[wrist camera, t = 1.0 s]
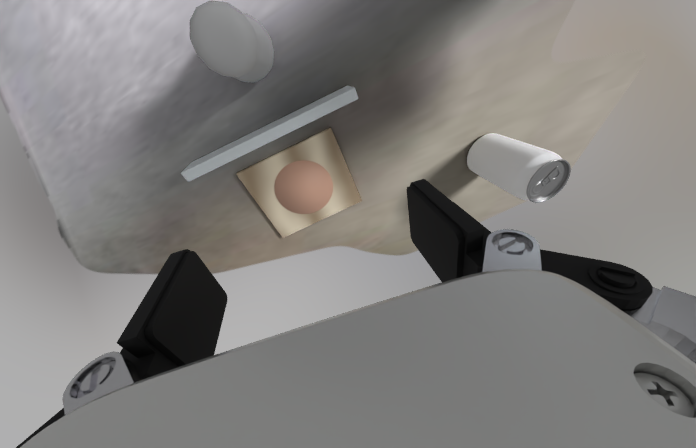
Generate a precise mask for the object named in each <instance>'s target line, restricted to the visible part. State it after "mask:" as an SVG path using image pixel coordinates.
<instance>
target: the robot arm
mask: <svg viewBox="0 0 696 448" xmlns="http://www.w3.org/2000/svg"><path fill="white" fill-rule="evenodd" d="M407 198H408V210H409V222H410V233H411V239H412V241H413V243H414V244H415V246H416V247H417V248H418V250H419V251H420V253H421V254H422V255H423V257H424V258H425V259H426V261H427V262H428V264H429V265H430V266H431V268H432V269H433V271H434V272H435V273H436V275H437V276H438V277H439V278H440V280H441V281H442V283H439V284H435V285H432V286H429V287H426V288H422V289H419V290H416V291H412V292H409V293H406V294H403V295H400V296H396V297H393V298H390V299H387V300H384V301H381V302H377V303H374V304H371V305H368V306H365V307H362V308H359V309H355V310H352V311H349V312H346V313H343V314H340V315H337V316H333V317H331V318H327V319H324V320H321V321H318V322H315V323H312V324H309V325H306V326H302V327H299V328H296V329H293V330H290V331H287V332H284V333H281V334H278V335H275V336H272V337H269V338H265V339H262V340H259V341H256V342H253V343H250V344H247V345H244V346H241V347H238V348H235V349H232V350H229V351H226V352H223V353H220V354H217V355H214V352H215V348H216V344H217V340H218V336H219V332H220V328H221V324H222V320H223V315H224V312H225V307H226V304H227V295H226V293H225V291H224V290H223V288H222V287H221V286H220V284H219V283H218V282H217V281H216V279H215V278H214V276H213V275H212V274H211V272H210V271H209V270H208V268H207V267H206V266H205V264H204V263H203V262H202V260H201V259H200V258H199V256H198V255H197V254H196V253H195V252H194V251H190V250H188V249H186V250H182V251H179V252H175V253H172V254H171V255H170V256H169V258H168V259H167V261H166V263H165V264H164V266H163V268H162V269H161V271H160V273H159V274H158V276H157V278H156V279H155V281H154V282H153V284H152V286H151V287H150V289H149V291H148V292H147V294H146V296H145V297H144V299H143V301H142V302H141V304H140V306H139V307H138V309H137V311H136V312H135V314H134V315H133V317H132V319H131V320H130V322H129V324H128V325H127V327H126V328H125V330H124V332H123V333H122V335H121V337H120V338H119V340H118V342H117V343H118V344H119V345H120V346H122V347H123V349H122V350H121V352H120V353H119V352H110V353H106V354H104V355H102V356H100V357H98V358H96V359H95V360H93V361H92V362H90V363H89V364H88V365H86V366H85V367H84V368H83V369H82V370H81V371H80V372H79V373H78V374H77V375H76V376H75V377H74V378H73V379H72V381H71V382H70V383H69V385H68V386H67V388H66V390H65V392H64V394H63V405H64V408H63V409H62V410H60V411H59V412H58V413H57V414H56V415H55V416H53V417H52V418H51V419H50V420H49V421H47V422H46V423H45V424H44V425H43V426H41V427H40V428H39V429H38V430H37V431H35V432H34V433H33V434H32V435H30V436H29V437H28V438H27V439H26V440H25V441H24V442H22V443H21V444H20V445H18V446H17V447H16V448H696V297H695V296H692V295H689V294H686V293H683V292H680V291H677V290H674V289H671V288H668V287H665V286H663V288H662V289H661V290H659V289H657V288H654V287H652V285H651V284H650V282H649V281H648V280H647V279H646V278H645V277H644V276H643V275H641V274H640V273H638V272H636V271H635V270H633V269H631V268H628V267H626V266H623V265H620V264H616V263H612V262H607V261H602V260H596V259H590V258H585V257H579V256H574V255H567V254H562V253H557V252H551V251H546V250H540V246H539V244H538V241H537V240H536V239H535V238H534V237H532V236H531V235H529V234H527V233H524V232H522V231H518V230H513V229H511V230H509V229H503V230H497V231H495V232H492V233H491V232H490V231H489V230H488V229H486V228H485V227H484V226H483V225H481V224H480V223H479V222H478V221H476V220H475V219H474V218H473V217H471V216H470V215H469V214H468V213H467V212H465V211H464V210H463V209H462V208H460V207H459V206H458V205H457V204H455V203H454V202H452V201H451V200H450V199H448V198H447V197H446V196H445V195H443V194H442V193H441V192H440V191H438V190H437V189H436V188H435V187H434V186H432V185H431V184H430V183H429V182H427V181H426V180H425V179H422V180H419V181H415V182H412V183H411V184H410V187H407Z"/></svg>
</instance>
